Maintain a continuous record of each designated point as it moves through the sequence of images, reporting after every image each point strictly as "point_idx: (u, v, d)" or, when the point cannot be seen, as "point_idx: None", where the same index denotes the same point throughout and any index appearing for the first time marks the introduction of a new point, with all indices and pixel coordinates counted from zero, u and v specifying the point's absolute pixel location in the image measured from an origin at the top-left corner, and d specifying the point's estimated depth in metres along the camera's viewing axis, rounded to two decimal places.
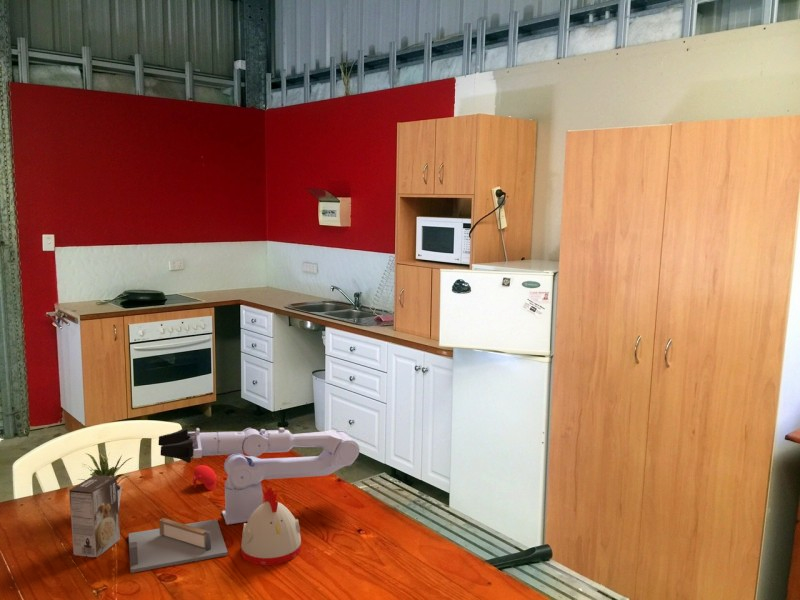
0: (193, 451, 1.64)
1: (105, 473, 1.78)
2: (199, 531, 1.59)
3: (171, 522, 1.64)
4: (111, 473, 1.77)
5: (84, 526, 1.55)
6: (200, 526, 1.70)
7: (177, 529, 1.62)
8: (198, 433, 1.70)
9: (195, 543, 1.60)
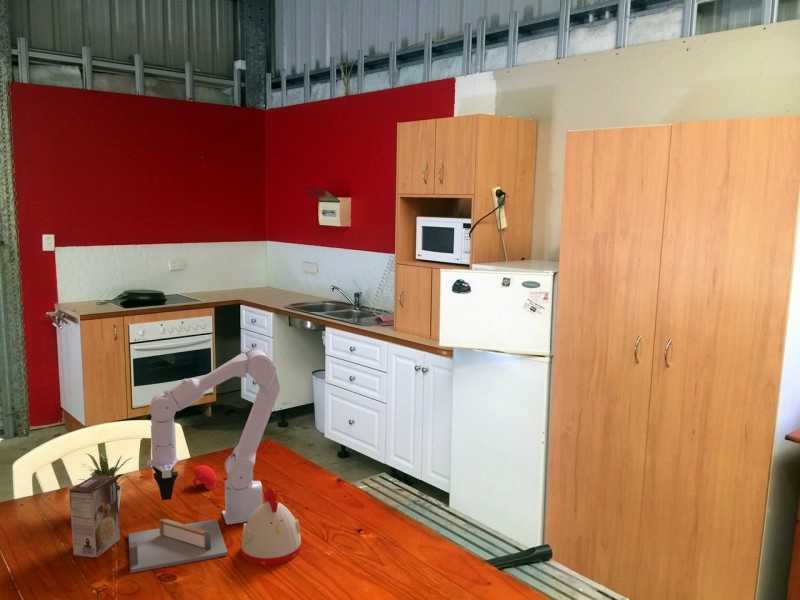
0: None
1: (105, 473, 1.78)
2: (199, 531, 1.59)
3: (171, 522, 1.64)
4: (111, 473, 1.77)
5: (84, 526, 1.55)
6: (200, 526, 1.70)
7: (177, 529, 1.62)
8: (151, 464, 1.67)
9: (195, 543, 1.60)
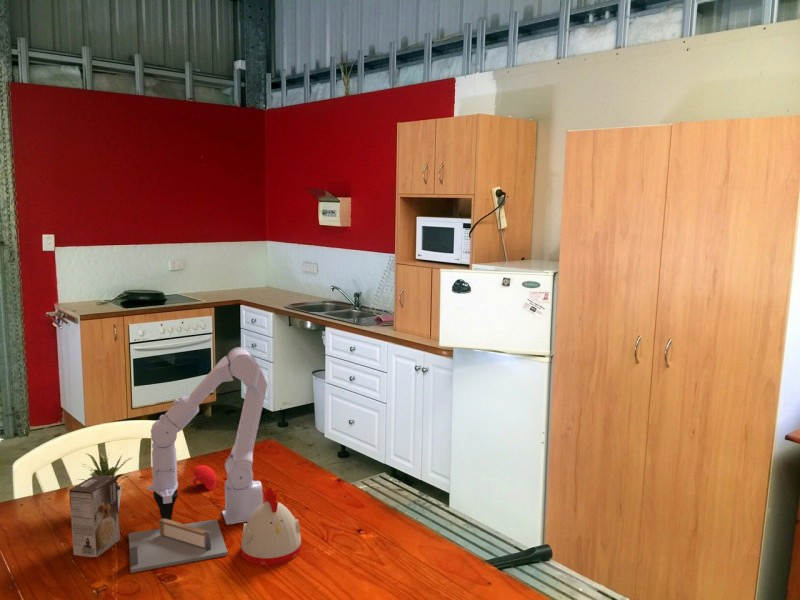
0: None
1: (105, 473, 1.78)
2: (199, 531, 1.59)
3: (171, 522, 1.64)
4: (111, 473, 1.77)
5: (84, 526, 1.55)
6: (200, 526, 1.70)
7: (177, 529, 1.62)
8: (152, 488, 1.68)
9: (195, 543, 1.60)
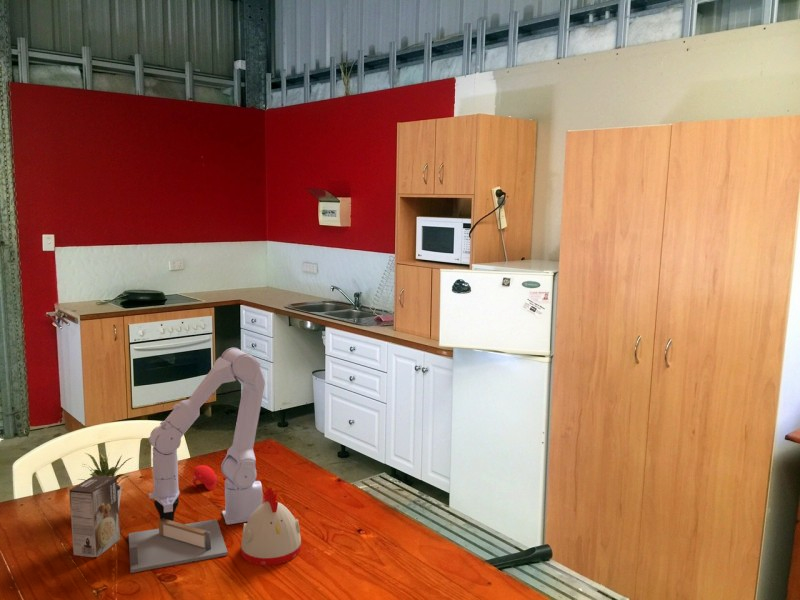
0: None
1: (105, 473, 1.78)
2: (199, 531, 1.59)
3: (171, 522, 1.63)
4: (111, 473, 1.77)
5: (84, 526, 1.55)
6: (200, 526, 1.70)
7: (177, 529, 1.62)
8: (152, 497, 1.64)
9: (195, 543, 1.60)
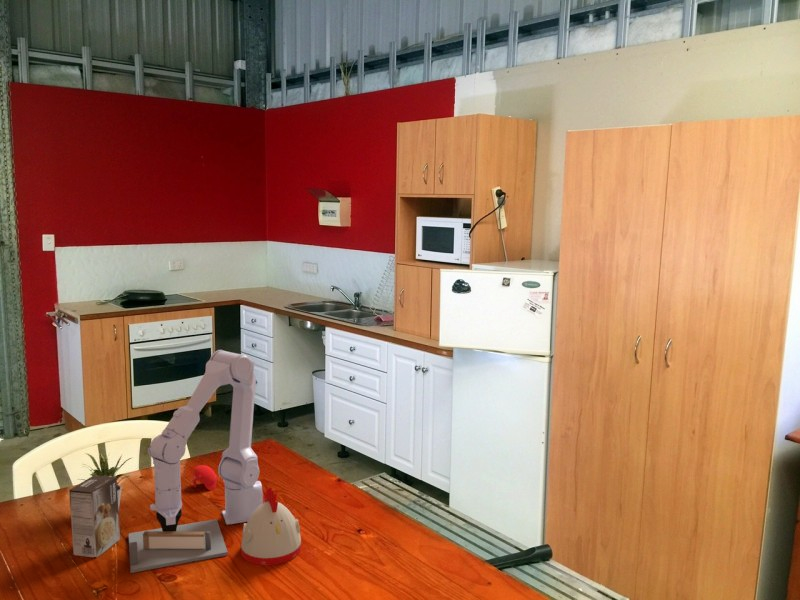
0: None
1: (105, 473, 1.78)
2: (197, 533, 1.58)
3: (158, 532, 1.58)
4: (111, 473, 1.77)
5: (84, 526, 1.55)
6: (200, 526, 1.70)
7: (168, 538, 1.58)
8: (154, 508, 1.57)
9: (192, 547, 1.58)
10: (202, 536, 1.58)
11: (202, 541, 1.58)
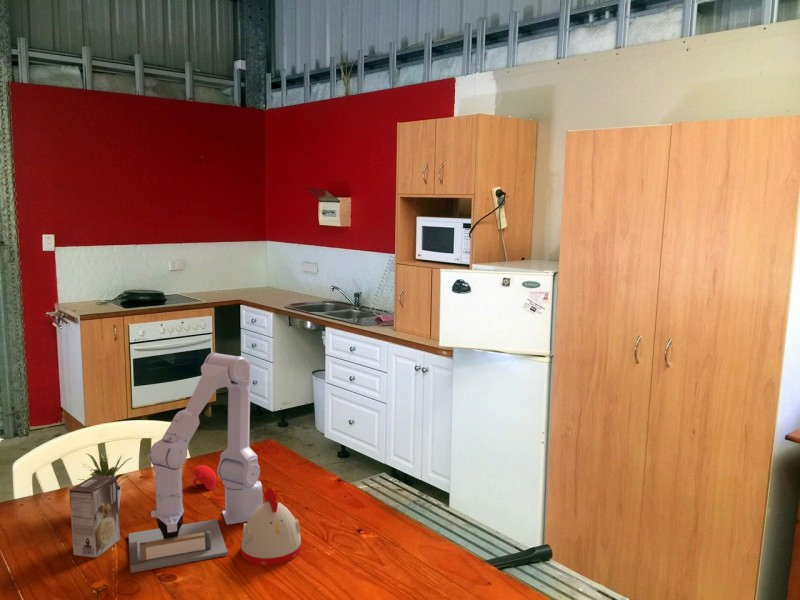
0: None
1: (105, 473, 1.78)
2: (198, 535, 1.57)
3: (156, 541, 1.54)
4: (111, 473, 1.77)
5: (84, 526, 1.55)
6: (200, 526, 1.70)
7: (167, 545, 1.55)
8: (155, 515, 1.54)
9: (193, 549, 1.57)
10: (203, 537, 1.58)
11: (203, 542, 1.58)
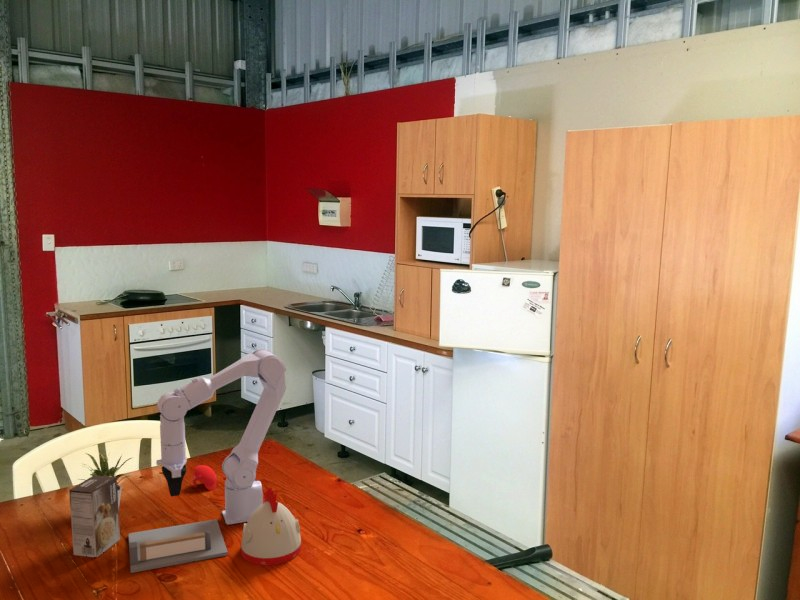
0: None
1: (105, 473, 1.78)
2: (198, 535, 1.57)
3: (156, 541, 1.54)
4: (111, 473, 1.77)
5: (84, 526, 1.55)
6: (200, 526, 1.70)
7: (167, 545, 1.55)
8: (160, 463, 1.65)
9: (193, 549, 1.57)
10: (203, 537, 1.58)
11: (203, 542, 1.58)
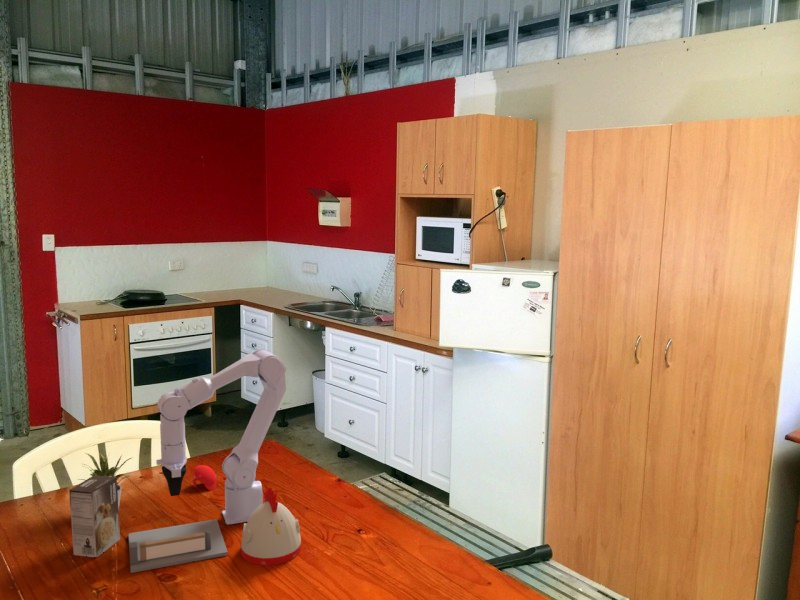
0: (174, 476, 1.61)
1: (105, 473, 1.78)
2: (198, 535, 1.57)
3: (156, 541, 1.54)
4: (111, 473, 1.77)
5: (84, 526, 1.55)
6: (200, 526, 1.70)
7: (167, 545, 1.55)
8: (160, 463, 1.65)
9: (193, 549, 1.57)
10: (203, 537, 1.58)
11: (203, 542, 1.58)
